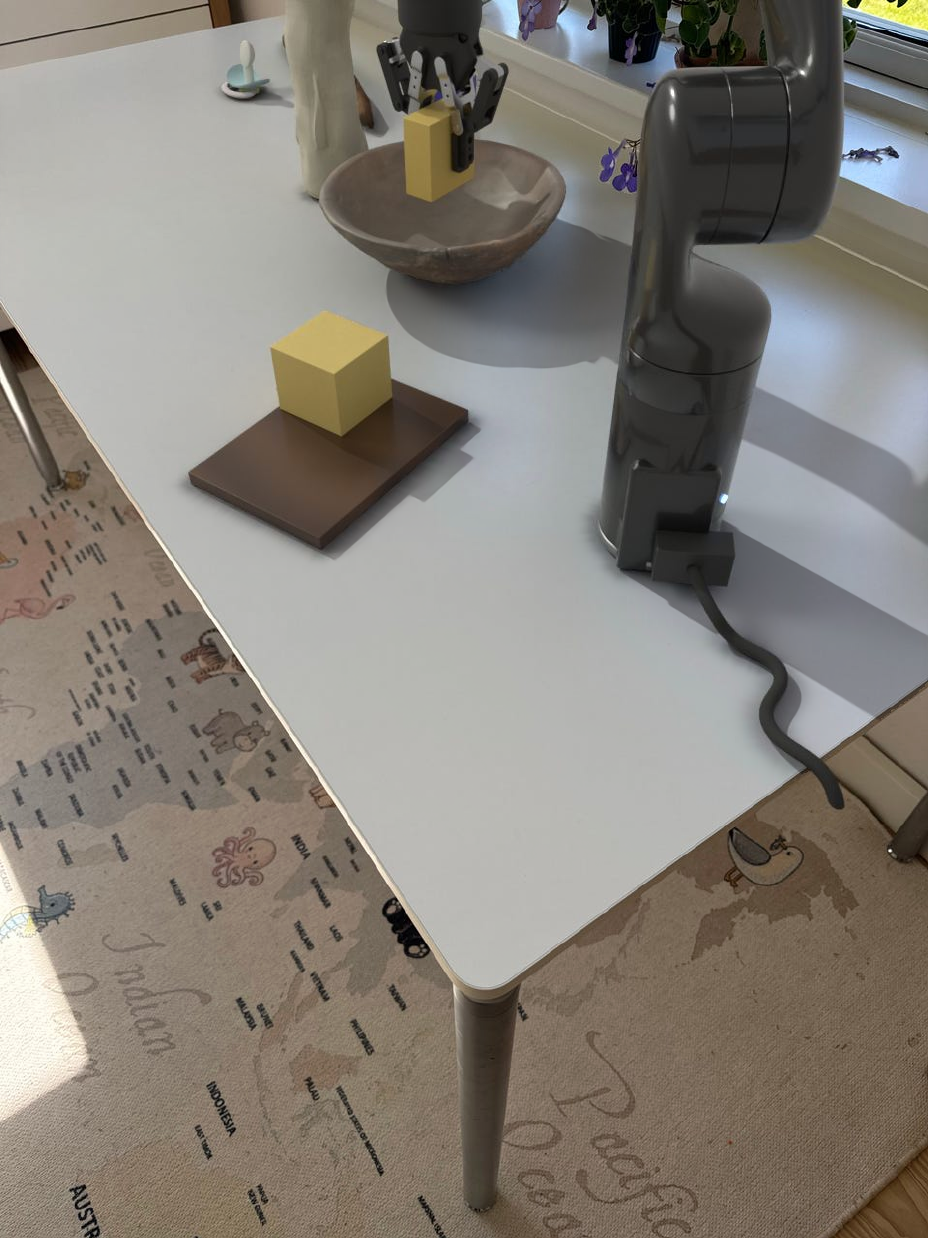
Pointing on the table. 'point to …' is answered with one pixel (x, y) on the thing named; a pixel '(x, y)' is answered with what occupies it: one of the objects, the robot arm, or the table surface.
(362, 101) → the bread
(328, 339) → the butter block
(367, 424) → the butter board
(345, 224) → the bowl
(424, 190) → the butter slice
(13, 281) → the table surface
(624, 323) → the robot arm
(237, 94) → the pacifier
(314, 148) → the vase
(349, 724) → the table surface
